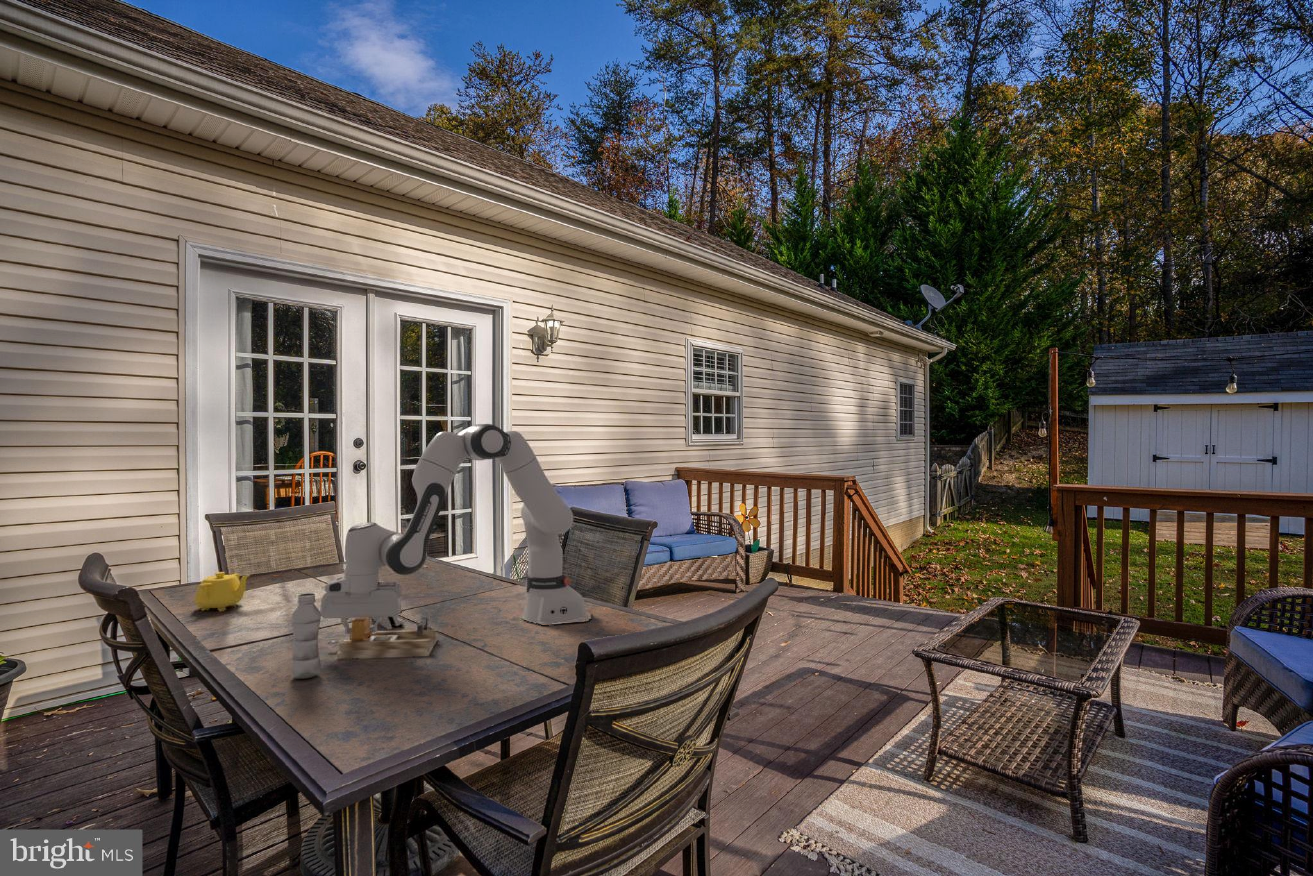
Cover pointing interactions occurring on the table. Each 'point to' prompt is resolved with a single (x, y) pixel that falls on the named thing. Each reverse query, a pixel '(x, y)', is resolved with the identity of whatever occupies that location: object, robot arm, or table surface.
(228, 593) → the teapot
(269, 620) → the table surface
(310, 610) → the plastic bottle
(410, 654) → the guide board
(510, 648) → the table surface
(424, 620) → the keeper hook
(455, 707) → the table surface
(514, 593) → the table surface
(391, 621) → the grey rounded slab
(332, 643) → the chain end link
